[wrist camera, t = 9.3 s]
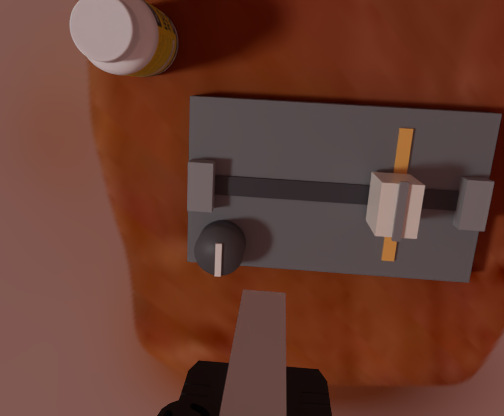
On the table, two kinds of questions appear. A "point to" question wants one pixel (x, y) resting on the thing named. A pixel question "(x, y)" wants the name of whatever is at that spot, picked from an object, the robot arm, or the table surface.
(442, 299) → the table surface
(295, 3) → the table surface
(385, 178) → the fader knob
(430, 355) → the table surface
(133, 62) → the supplement bottle
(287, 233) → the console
